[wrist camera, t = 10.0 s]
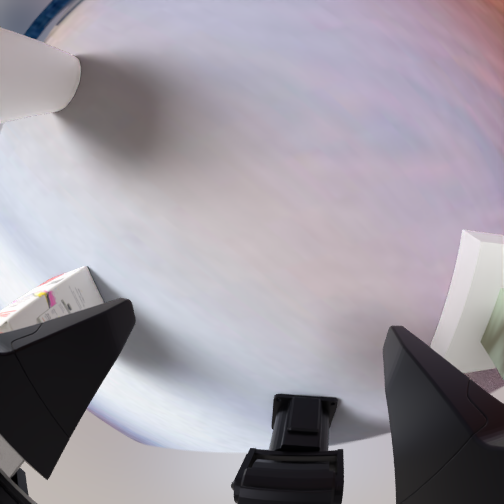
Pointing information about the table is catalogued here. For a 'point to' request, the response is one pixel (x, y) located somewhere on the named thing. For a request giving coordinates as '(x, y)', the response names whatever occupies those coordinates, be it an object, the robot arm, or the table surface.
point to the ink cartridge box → (52, 300)
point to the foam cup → (34, 77)
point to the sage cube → (496, 334)
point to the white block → (471, 301)
